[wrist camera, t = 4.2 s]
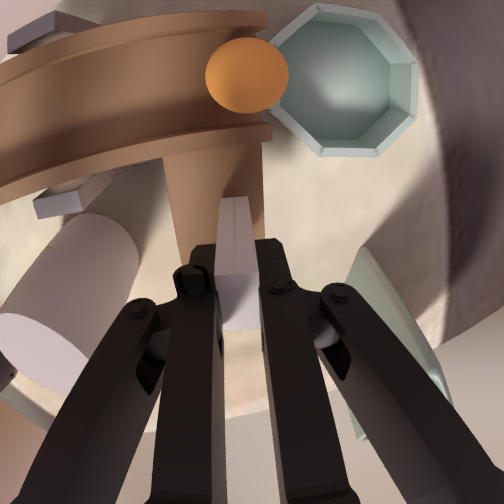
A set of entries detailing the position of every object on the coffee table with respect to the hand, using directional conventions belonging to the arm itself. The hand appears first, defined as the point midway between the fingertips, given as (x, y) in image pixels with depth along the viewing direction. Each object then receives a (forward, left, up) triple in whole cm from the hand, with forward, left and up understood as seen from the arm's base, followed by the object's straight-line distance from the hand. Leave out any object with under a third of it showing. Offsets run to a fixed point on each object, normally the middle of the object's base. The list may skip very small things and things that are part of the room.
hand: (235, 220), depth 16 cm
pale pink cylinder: (-13, -5, -7) cm, 15 cm away
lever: (-8, +4, +1) cm, 9 cm away
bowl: (+7, +7, -7) cm, 12 cm away
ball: (+1, +7, +1) cm, 8 cm away
